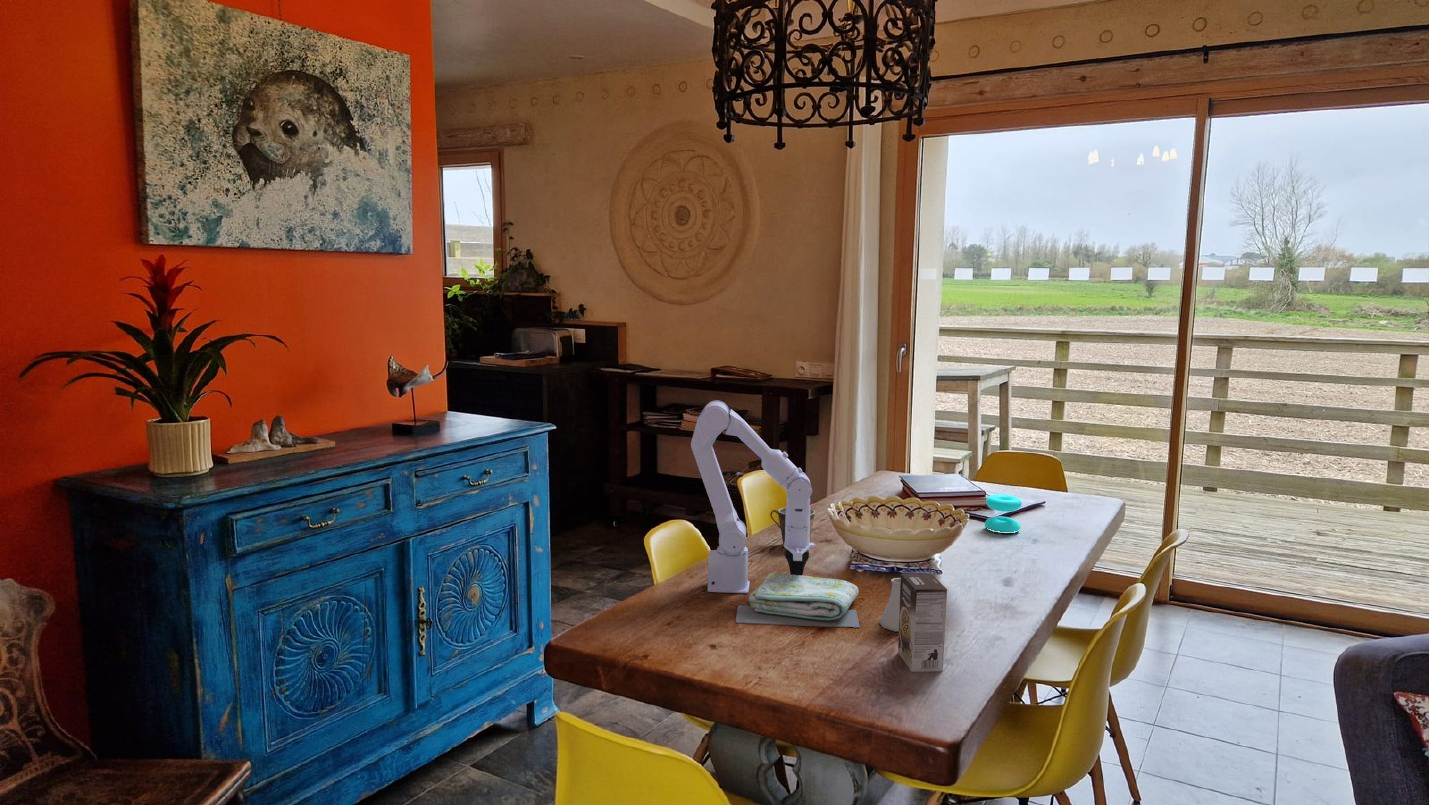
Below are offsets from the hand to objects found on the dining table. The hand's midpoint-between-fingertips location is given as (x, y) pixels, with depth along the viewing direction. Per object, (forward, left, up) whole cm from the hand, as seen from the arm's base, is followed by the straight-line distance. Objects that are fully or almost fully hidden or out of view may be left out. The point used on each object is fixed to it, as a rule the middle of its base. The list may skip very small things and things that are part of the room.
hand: (796, 581), depth 211 cm
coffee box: (+23, -39, -2) cm, 45 cm away
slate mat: (0, -18, -2) cm, 18 cm away
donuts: (+61, +58, -2) cm, 84 cm away
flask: (+21, -21, -2) cm, 29 cm away
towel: (+2, -11, -2) cm, 11 cm away
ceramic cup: (-1, +35, -2) cm, 35 cm away
